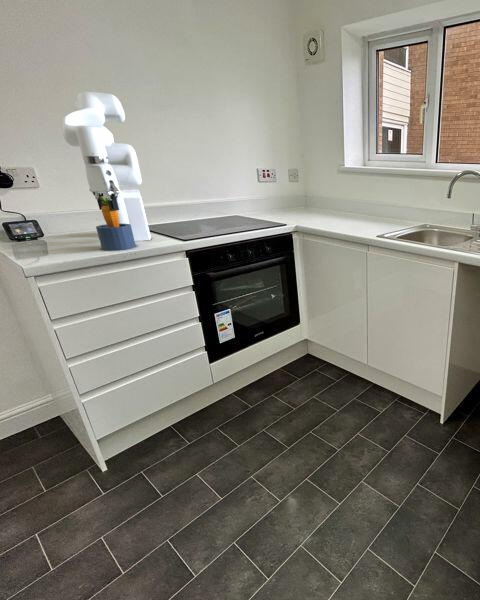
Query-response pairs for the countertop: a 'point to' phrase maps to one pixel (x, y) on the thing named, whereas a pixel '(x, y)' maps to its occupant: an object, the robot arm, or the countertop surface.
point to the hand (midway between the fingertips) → (109, 209)
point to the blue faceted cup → (116, 237)
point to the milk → (136, 215)
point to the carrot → (109, 214)
